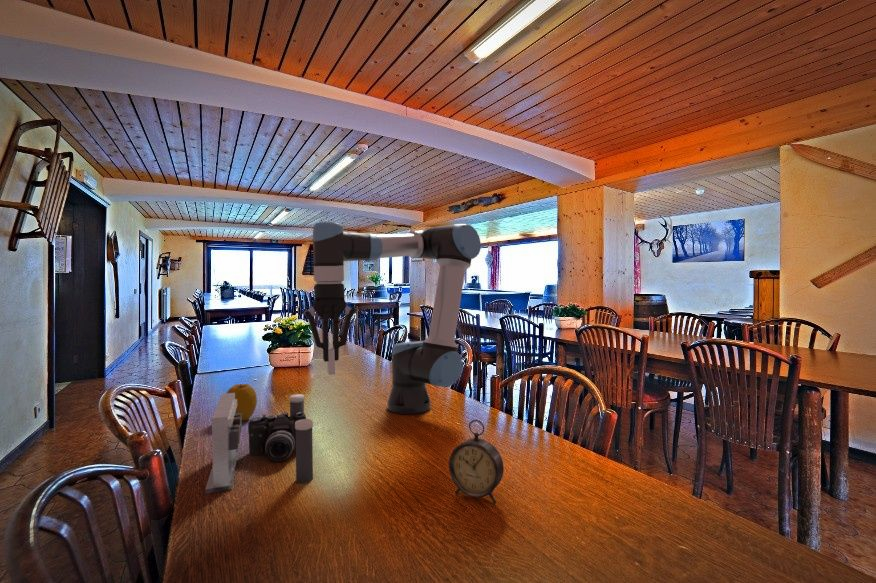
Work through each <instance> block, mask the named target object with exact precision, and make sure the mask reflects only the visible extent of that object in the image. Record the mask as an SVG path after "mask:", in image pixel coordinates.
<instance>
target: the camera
mask: <svg viewBox="0 0 876 583" xmlns="http://www.w3.org/2000/svg"><path fill="white" fill-rule="evenodd" d="M302 419H307V417H306V413H305V412H304V413H302V412H297V413H296V414H295V415H294V416H290V415H289V413H288V411H285V412H283V413H281V412H278V414H277V416H275V415H269V416H266V413H263V414H262V417H257V416H256V417H252V418H249V422H248V424H247V430H248V431H247V432H248V451H249V452H248V453H249V456H261V455H267V457H268V459H270V460H272V461H274V462H275V461H276V462H281V461H282V462H283V461H284V460H287V458H289V457H290V456H291V455H292V453H293V452H296V429H295V422H296V421H298V420H302Z"/></svg>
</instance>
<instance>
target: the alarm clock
mask: <svg viewBox="0 0 876 583" xmlns="http://www.w3.org/2000/svg"><path fill="white" fill-rule="evenodd" d="M474 422H477V423H479V424H481V426H482V430H481V432H480V433H478V432H473V431H472V428H471V425H472V423H474ZM468 429H469V431H470V432H471V434H473V436H474V437H473V438H469V439H466V440H464V441H463V442H461V443H460V444H458V445H457V446H455V448H454V449H453V450H452V451H451V453H450V456H449V458H448V459H449V460H448V470H449V475H450V478H451V480H452V481H453V483H454V485H455V486H456V488H457V489H456V490H455V491H454V493H455V494H456V495H459V492H460V491H461V492H462V493H463V494H465V495H466V496H469V497H472V498H484V497H486V496H489V498H490V500H491V501H492V503H493V504H494V505H495V504H497V501H496V499H495V497H494V494H493V491H494V490H495V489H496V488H497V486H498V485H499V484H500V483H501V481H502V479H503V476H504V471H505V470H504V469H505V468H504V462H503V457H502V456H501V454H500V452H499V450H498V449H497V448H496V447H495V446H494V445H493V444H492V443H491V442H489V441H488V440H486V439H483V438H481V437H479V436H482V435H483V434H484V432H485V425H484V424H483V422H482V421H480V420H479V419H472V420H471V421H470V422H469V424H468Z"/></svg>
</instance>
